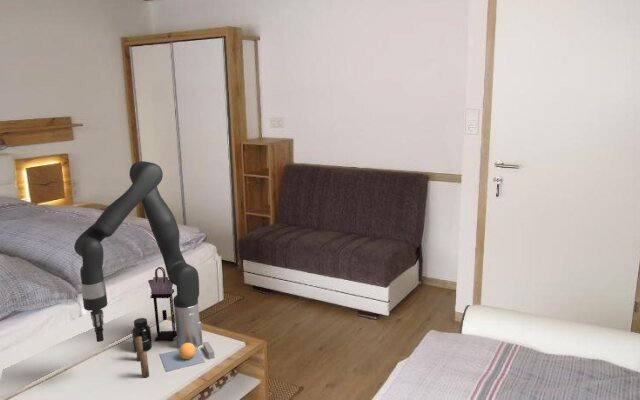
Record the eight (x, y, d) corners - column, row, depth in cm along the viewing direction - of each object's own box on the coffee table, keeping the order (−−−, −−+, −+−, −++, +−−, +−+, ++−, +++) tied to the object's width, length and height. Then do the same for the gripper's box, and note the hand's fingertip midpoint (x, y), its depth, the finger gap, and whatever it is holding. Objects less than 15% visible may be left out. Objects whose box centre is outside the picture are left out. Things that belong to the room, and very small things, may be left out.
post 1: (143, 357, 198) (141, 335, 196) (144, 360, 196) (142, 338, 194) (136, 359, 197) (134, 337, 195) (137, 362, 195) (135, 339, 193)
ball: (187, 336, 198) (174, 348, 197) (189, 343, 193) (176, 355, 191) (197, 347, 200) (185, 358, 199) (200, 353, 195) (187, 365, 194)
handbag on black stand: (182, 332, 217) (175, 264, 211) (176, 341, 210) (169, 270, 204) (157, 332, 218) (150, 264, 212) (150, 341, 211) (143, 270, 205)
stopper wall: (208, 347, 204) (208, 341, 204) (214, 357, 196) (214, 351, 196) (203, 348, 203) (203, 342, 203) (209, 359, 195) (208, 352, 195)
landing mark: (196, 346, 206) (196, 345, 206) (204, 362, 193) (204, 361, 193) (159, 354, 200) (159, 354, 200) (166, 371, 187) (166, 371, 187)
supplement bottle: (146, 353, 201) (143, 324, 198) (130, 352, 202) (127, 323, 200) (155, 345, 207) (152, 317, 205) (139, 344, 209) (136, 316, 206)
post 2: (148, 373, 186) (146, 350, 185) (149, 376, 184) (147, 353, 182) (141, 375, 185) (139, 352, 184) (142, 378, 183) (140, 355, 181)
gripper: (107, 298, 174) (113, 346, 178) (104, 285, 186) (110, 330, 190) (83, 302, 171) (89, 351, 175) (81, 289, 183) (87, 335, 186)
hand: (100, 340), depth 182 cm, fingers closed
